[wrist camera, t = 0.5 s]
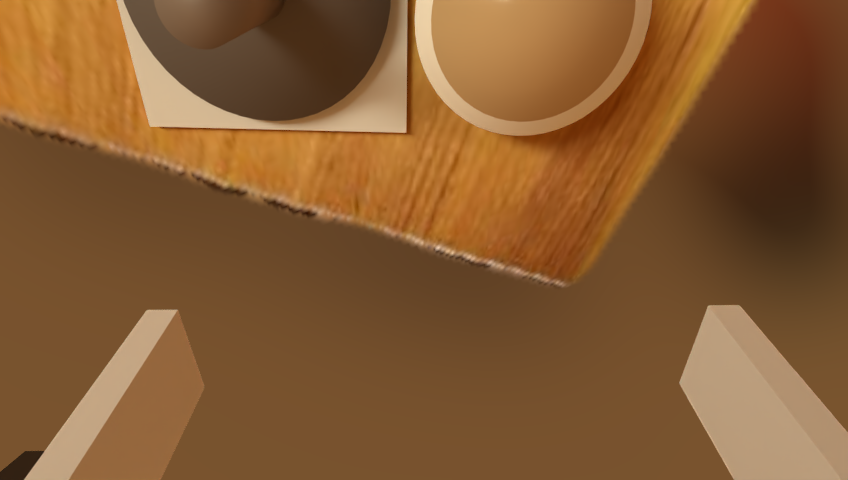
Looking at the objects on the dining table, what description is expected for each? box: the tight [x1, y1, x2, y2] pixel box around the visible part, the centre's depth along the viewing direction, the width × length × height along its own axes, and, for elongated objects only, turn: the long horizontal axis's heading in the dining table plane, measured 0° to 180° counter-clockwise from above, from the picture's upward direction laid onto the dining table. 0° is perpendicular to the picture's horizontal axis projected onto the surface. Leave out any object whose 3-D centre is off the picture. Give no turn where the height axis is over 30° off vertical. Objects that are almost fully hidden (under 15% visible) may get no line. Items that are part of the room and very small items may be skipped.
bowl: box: [415, 0, 652, 136], centre depth 30 cm, size 13×13×5 cm
